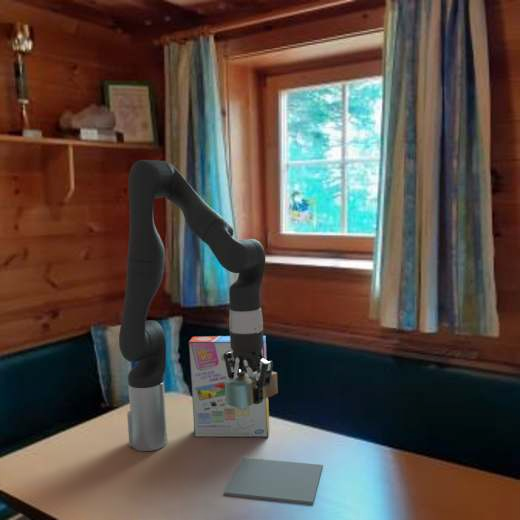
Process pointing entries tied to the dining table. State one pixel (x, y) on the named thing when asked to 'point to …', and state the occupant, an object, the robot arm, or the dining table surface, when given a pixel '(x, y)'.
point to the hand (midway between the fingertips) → (249, 399)
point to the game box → (220, 393)
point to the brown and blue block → (247, 390)
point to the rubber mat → (275, 480)
